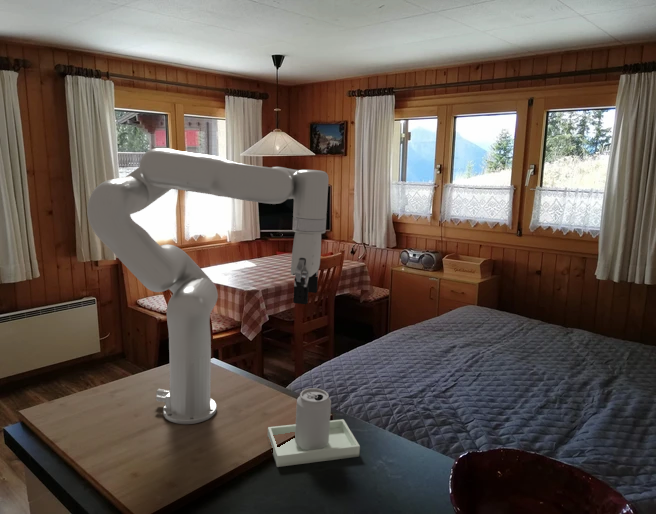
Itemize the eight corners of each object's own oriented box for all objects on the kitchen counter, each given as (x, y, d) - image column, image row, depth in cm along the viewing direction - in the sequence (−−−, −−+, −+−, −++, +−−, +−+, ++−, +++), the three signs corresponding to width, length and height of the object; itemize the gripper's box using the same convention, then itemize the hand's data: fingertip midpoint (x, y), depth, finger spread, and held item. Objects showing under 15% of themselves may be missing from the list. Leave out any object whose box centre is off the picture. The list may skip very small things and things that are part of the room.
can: (324, 456, 108) (328, 404, 106) (290, 450, 109) (293, 399, 107) (331, 437, 115) (334, 388, 113) (299, 432, 117) (302, 383, 114)
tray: (277, 466, 105) (277, 456, 104) (267, 437, 115) (267, 427, 115) (359, 456, 110) (359, 446, 109) (342, 428, 120) (343, 419, 120)
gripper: (302, 219, 124) (299, 286, 128) (282, 229, 108) (279, 306, 111) (332, 221, 123) (328, 289, 126) (317, 232, 106) (312, 310, 110)
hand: (305, 297), depth 119 cm, fingers open, 9 cm apart
